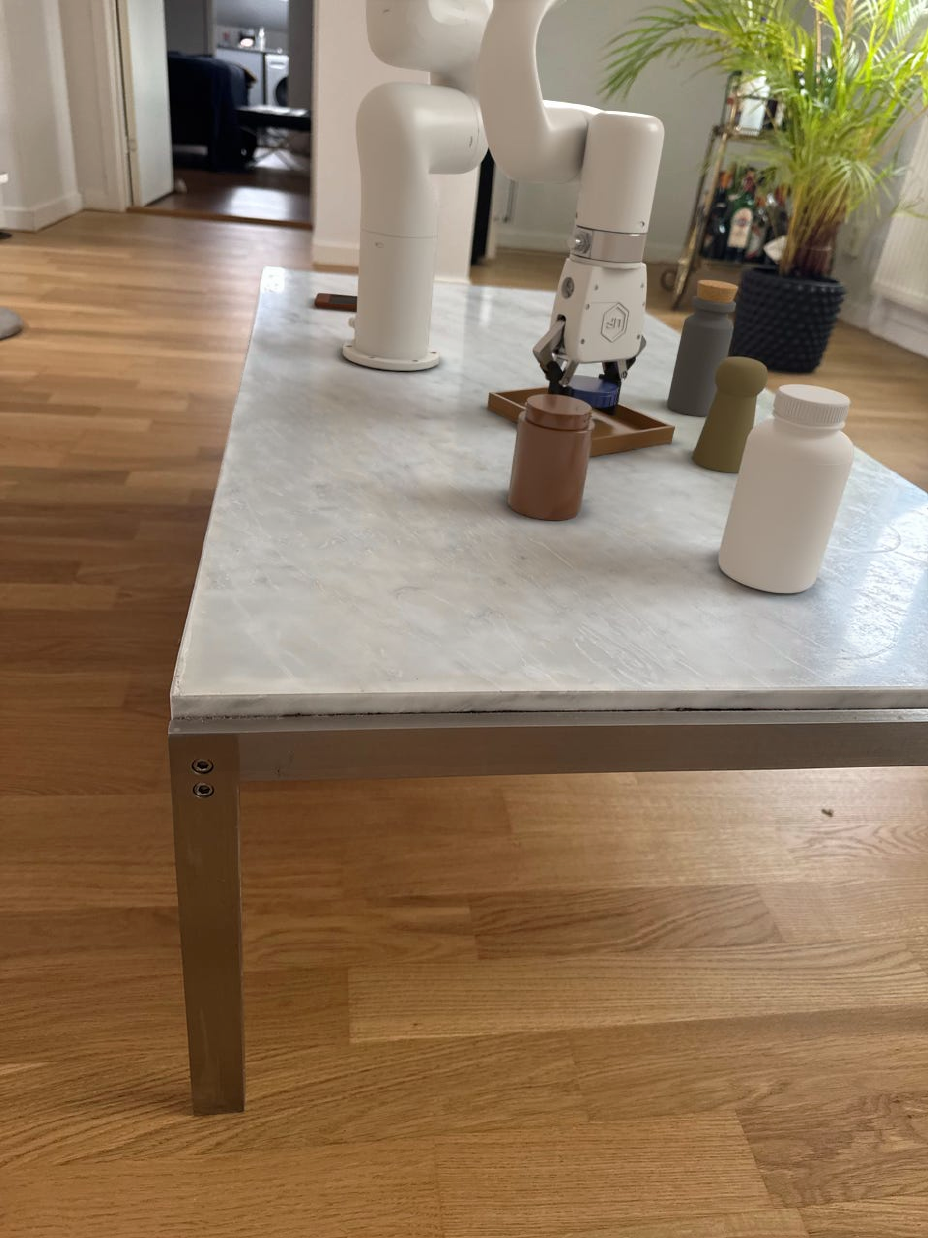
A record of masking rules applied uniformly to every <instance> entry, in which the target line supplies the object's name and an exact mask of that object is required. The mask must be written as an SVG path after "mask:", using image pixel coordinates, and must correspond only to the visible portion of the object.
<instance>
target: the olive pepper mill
mask: <svg viewBox="0 0 928 1238" xmlns="http://www.w3.org/2000/svg"><path fill="white" fill-rule="evenodd" d="M768 372H769V371H768V369H767V366H766V365H765V364H764V363H762V362H761V361H759V360H756V359H754V358H750V357H747V356H746V357H745V356H727V358H725V359H723V360H722V361H721V362H720V363H719V365H718V367H717V369H716V373H715V383H716V386H717V388H718V389H717V391H716V394H715V396H714V399H713V402H712V404H711V407H710V410H709V412H708V415H707V416H706V418H705V420H704V423H703V426H702V429H701V431H700V434H699V437H698V439H697V441H696V444H695V447H694V449H693V452H692V455H691V460H692V461H693V462H694V463H695V464H697V465H698V466H701V467H703V468H705V469H708V470H712V471H716V472H721V473H731V474H737V473H738V474H739V470H740V466H741V462H742V458H743V454H744V449H745V445H746V442H747V438H748V435H749V434H750V432H751V430H752V429H753V428H754V424H755V416H756V407H757V402H758V396H759V395H760V394H761V393H762V392H763V391H764V389H765V388H766V385H767V382H768V377H769V375H768V374H769V373H768Z"/></svg>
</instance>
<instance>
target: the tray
mask: <svg viewBox="0 0 928 1238" xmlns="http://www.w3.org/2000/svg"><path fill="white" fill-rule="evenodd" d="M548 388H549V385H544V386H534V387H525V388H515V389H506V390H498V391H490V392H489V391H488V398H487V399H488V400H487V406H486V407H487V408H486V409H487V410H490V411H491V412H494V413H496V414H497V415H499V416H502V417H504V418H506V419H508V420H510V421H512V422H513V423H516V424H518V419H519V414H520V413H521V412H523V411H525V410H526V407H525V402H527V399H528V398H529V397H531V396H534V395H541V394H548ZM592 411H593V413H592V419H591V420H592V421H593V422H594V424H595V429H594V435H593V440H592V446H591V452H590V457H589V458H591V457H598V456H605V455H609V454H616V453H621V452H628V451H632V450H638V449H644V448H650V447H655V446H662V445H668V444H672V443H673V439H674V435H675V434H674V433H675V429H676V426H675V425H673V424H670V423H667V422H665V421H663V420H661V419H658V418H656V417H654V416H651V415H649V414H646V413H644V412H642V411H640V410H637V409H635V408H633V407H630V406H628V405H626V404H623V403H621V402H618V406H617V412H616V415H613V416H610V415H607V414H605V413H603V412H601V411H598V410H596V409H595V408H593V407H592Z"/></svg>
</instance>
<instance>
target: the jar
mask: <svg viewBox="0 0 928 1238" xmlns="http://www.w3.org/2000/svg"><path fill="white" fill-rule="evenodd" d="M525 407H526V410H525V411H523V412H521V413H520V414H519V419H518V423H517V427H516V435H515V436H516V437H515V442H514V449H513V456H512V464H511V472H510V479H509V486H508V495H507V504H508V506H509V507H510V508H511V509H512V510H513V511H515V512H517V513H519V514H520V515H523V516H526V517H529V518H533V519H536V520H537V519H538V520H544V521H566V520H570V519H573V518H575V517H577V516H578V515H579V514H580V513H581V509H582V503H583V496H584V492H585V484H586V480H587V474H588V468H589V463H590V458H591V457H590V452H591V446H592V440H593V435H594V429H595V424H594V422H593V421H592V420H591V419H592V413H593V411H592V407H591V406H590V405H589V404H588V403H586V402H584V401H582V400H579V399H576V398H572V397H568V396H562V395H553V394H541V395H534V396H531V397H529V398H528V399H527V402H525Z"/></svg>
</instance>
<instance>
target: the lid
mask: <svg viewBox="0 0 928 1238" xmlns="http://www.w3.org/2000/svg"><path fill="white" fill-rule="evenodd" d="M569 386H571V387H573V388H572V389H573V391H572V398H576V399H579V400H582V401H584V402H586V403H588V404H589V405H590V406H591V407H593V408H604V407H610V406H613V405H614V404H615V403H616V402H617V396H618V386H617V385H616V384H614V383H612V382H609V381H607V380H604V379H600V378H598V377H595V376H591V375H582V374H574V375H573V377H572V379H571V381H570V383H569Z"/></svg>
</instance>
